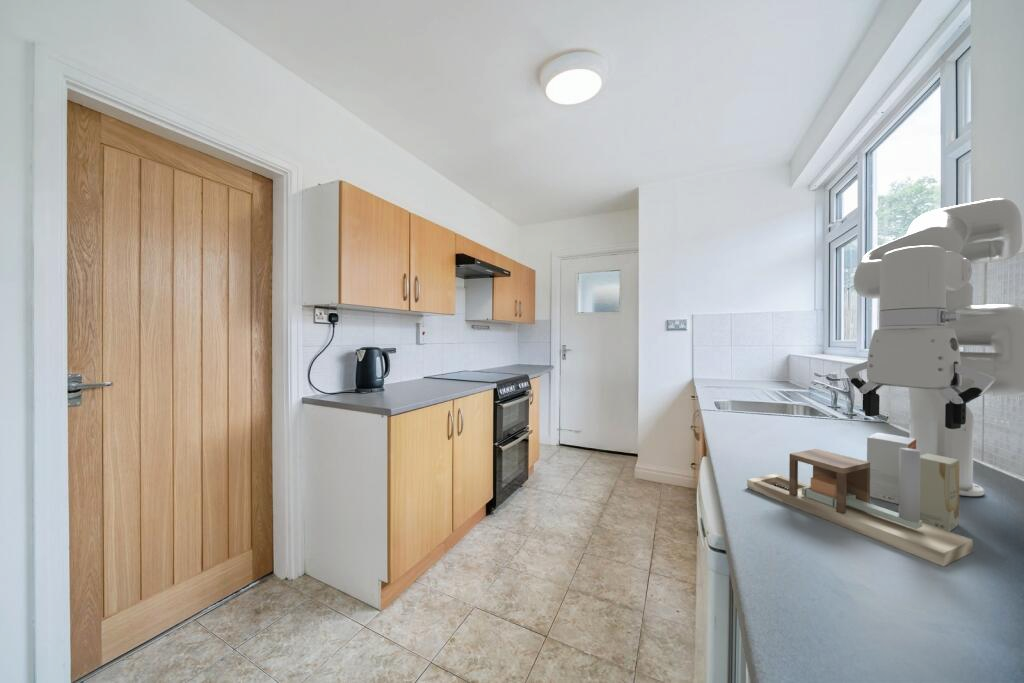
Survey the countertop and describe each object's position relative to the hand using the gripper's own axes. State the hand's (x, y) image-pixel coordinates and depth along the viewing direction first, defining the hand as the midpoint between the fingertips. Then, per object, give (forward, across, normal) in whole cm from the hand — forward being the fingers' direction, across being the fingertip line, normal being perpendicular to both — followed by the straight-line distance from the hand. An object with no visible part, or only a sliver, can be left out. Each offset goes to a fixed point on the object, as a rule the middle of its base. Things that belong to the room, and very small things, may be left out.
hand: (909, 421), depth 60 cm
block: (+18, +12, -1) cm, 22 cm away
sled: (+18, +7, -1) cm, 19 cm away
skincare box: (+20, +1, -14) cm, 25 cm away
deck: (+20, +10, -1) cm, 23 cm away
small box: (+20, +10, -21) cm, 31 cm away
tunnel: (+18, +12, -1) cm, 22 cm away
